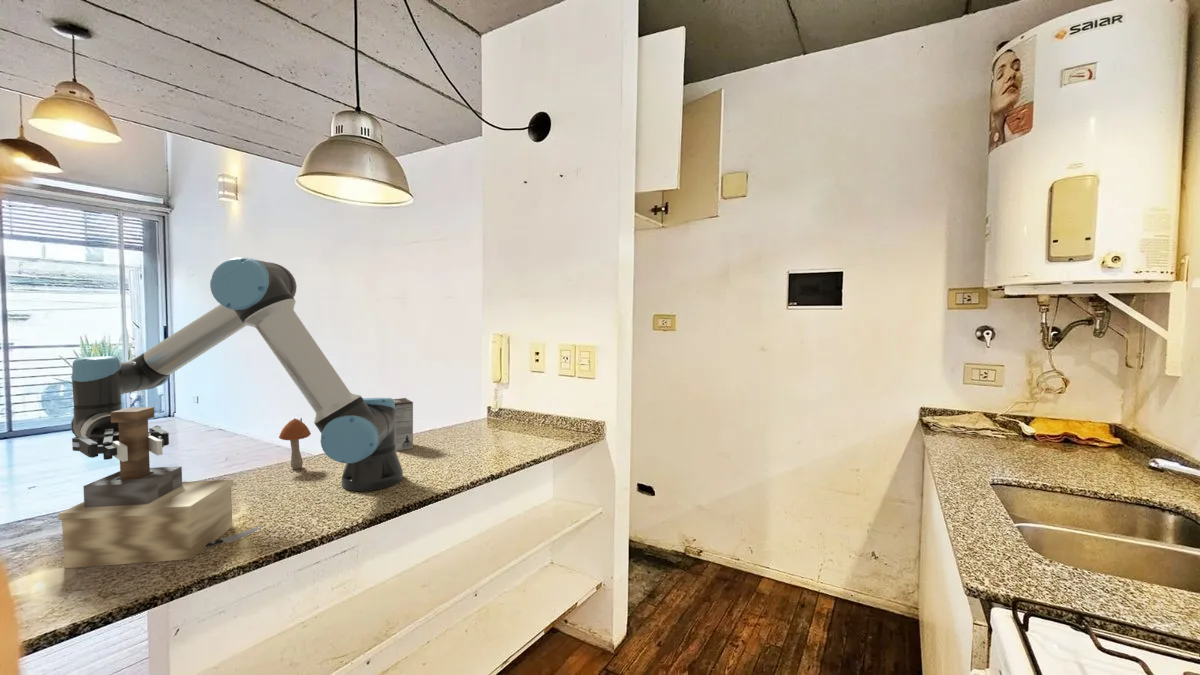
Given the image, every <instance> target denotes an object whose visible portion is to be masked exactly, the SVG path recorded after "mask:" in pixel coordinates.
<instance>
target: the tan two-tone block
mask: <svg viewBox="0 0 1200 675" xmlns="http://www.w3.org/2000/svg"><path fill="white" fill-rule="evenodd" d="M233 486H234V479H217V480H216V479H215V480H198V481H195V480H194V481H183V467H182V466H166V467H165V466H163V467H157V466H156V467H150V474H149V475H147V476H145V477H143V478H141V479H124V480H121V478H120V470H118V471H117V472H114V473H112V474H110V475H109V474H108V475H107V476H105V477H102V478H100V479H98V480H95V481H93V482H90V483H88V484H85V485H83V486H82V487H83V488H82V489H83V501H82V502H81V503H78V504H76V505H74V506H72V507H70V508H67V509H65V510H63V511H61V512H59V513H57V515H58V516H57V517H58V518H57V519H58V521H61V528H62V548H63V551H62V552H63V568H64V569H74V568H88V567H100V566H101V567H102V566H116V565H129V564H141V563H145V564H146V563H155V562H168V561H169V562H171V561H183V560H186V561H187V560H192V559H193V558H195V557H196V556H197V555H198V554H199V553H201V552H203V550H204V549H206V545H207V544H208V543H210V542H213V541H215V540H218V539H220V537H221V536H223V535H224V534H225V533H226V532H227V530H228V531H229V530H230V529H232V528H233V506H232V505H233V503H232V499H233V498H232V487H233Z"/></svg>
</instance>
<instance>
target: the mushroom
mask: <svg viewBox="0 0 1200 675" xmlns="http://www.w3.org/2000/svg"><path fill="white" fill-rule="evenodd" d="M311 434H312V433H311V431H310V429H309V428H308V426H307V425H306V424H305V423H304V422H303V421H301V420H300V419H297V418H293V419H291V420H289V421H288V423H287V424H286V425H284V427H283V428H282V429H281V431H280V433H279V436H278V439H280V440H282V441H289V442H290V448H291V449H290V450H291V457H290V466H291V469H292V468H293V469H292V470H299V469H301V468H302V467H303V463H304V462H303V457H302V454H301V450H300V441H299V440H302V439H303V440H305V438H308V437H310V436H311ZM298 468H299V469H298Z"/></svg>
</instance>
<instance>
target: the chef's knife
mask: <svg viewBox="0 0 1200 675" xmlns="http://www.w3.org/2000/svg"><path fill="white" fill-rule="evenodd" d="M264 525H265V524H264ZM261 526H262V525H259V526H256V527H253V528H250V529H248V530H247V529H246V530H244V531H241V532H237V533H235V534H232V535H229V536H226V537H223V538H217V539H216V540H215V541H213V542H210V543H208V544H207V545H206V547H207V548H210V547H212V545H213V546H216V545H219V544H222V542H225V543H224V544H230V542H231V543H233V542H232V541H234V542H236V541H235V540H237V541H239V540H241V538H242V537H244V538H246V537H245V536H247V537H249V536H248V534H251V533H254V534H256V533H255V531H257V530H258V529H261V528H263V527H264V526H263V527H261ZM265 526H266V525H265ZM258 527H260V528H258ZM238 539H239V540H238ZM242 539H243V538H242ZM218 543H219V544H218ZM215 544H216V545H215ZM209 546H210V547H209Z"/></svg>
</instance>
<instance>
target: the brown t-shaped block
mask: <svg viewBox="0 0 1200 675" xmlns="http://www.w3.org/2000/svg"><path fill="white" fill-rule="evenodd" d="M153 418H155V406H148V407H147V406H145V407H144V406H141V407H140V406H139V407H126V408H121V410H117V411H113V412H111V423H118V428H119V442H121V443H122V444H124V445H126V446H127V451H128V461H124V462H122V461H120V460H119V469H120V470H119V471H120V478H121V480H124V479H141V478H143V477H145V476H147V475H149V474H150V468H151V465H150V463H151V462H150V451H149V440H148V437H149V435H148V430H149V420H150V419H153Z"/></svg>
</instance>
